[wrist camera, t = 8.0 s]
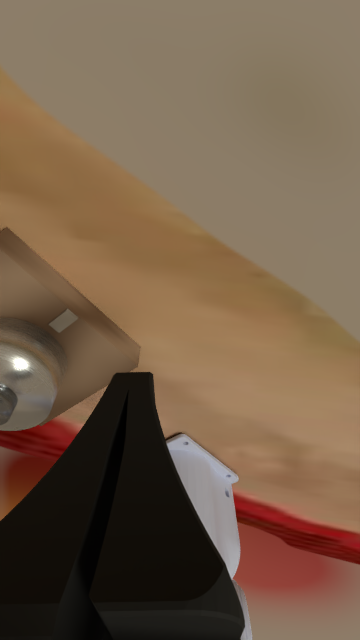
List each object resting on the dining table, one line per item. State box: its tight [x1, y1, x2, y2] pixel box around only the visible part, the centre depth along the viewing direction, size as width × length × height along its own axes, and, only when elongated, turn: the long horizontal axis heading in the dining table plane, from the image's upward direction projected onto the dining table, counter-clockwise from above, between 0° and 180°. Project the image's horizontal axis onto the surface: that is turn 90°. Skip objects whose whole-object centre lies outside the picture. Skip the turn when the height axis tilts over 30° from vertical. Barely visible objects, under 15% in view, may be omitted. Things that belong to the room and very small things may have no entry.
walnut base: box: [0, 227, 141, 426], centre depth 21 cm, size 11×10×2 cm
